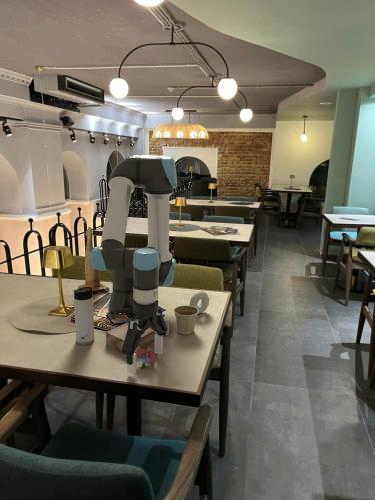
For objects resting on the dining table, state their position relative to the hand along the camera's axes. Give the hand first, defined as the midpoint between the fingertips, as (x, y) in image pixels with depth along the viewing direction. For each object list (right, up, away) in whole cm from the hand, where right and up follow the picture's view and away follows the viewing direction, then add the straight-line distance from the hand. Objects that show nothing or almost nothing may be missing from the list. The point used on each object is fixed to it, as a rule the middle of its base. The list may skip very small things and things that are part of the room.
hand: (145, 362), depth 117 cm
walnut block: (-7, +2, +14) cm, 15 cm away
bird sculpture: (-32, +16, +62) cm, 71 cm away
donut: (+18, +8, +40) cm, 45 cm away
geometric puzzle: (0, -1, 0) cm, 1 cm away
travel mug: (-23, +3, +14) cm, 27 cm away
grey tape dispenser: (+3, +5, +24) cm, 25 cm away
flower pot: (+13, +4, +24) cm, 27 cm away
